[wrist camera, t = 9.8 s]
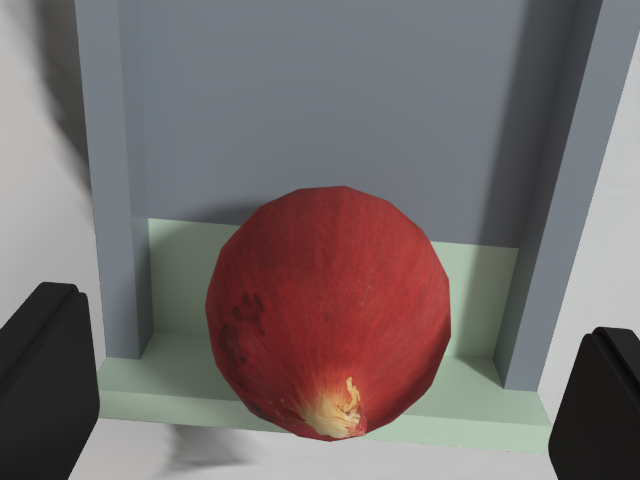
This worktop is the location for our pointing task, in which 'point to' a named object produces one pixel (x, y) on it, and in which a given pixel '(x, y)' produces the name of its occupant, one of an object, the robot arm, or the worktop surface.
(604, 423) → the robot arm
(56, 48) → the worktop surface
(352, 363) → the onion
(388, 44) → the channel
